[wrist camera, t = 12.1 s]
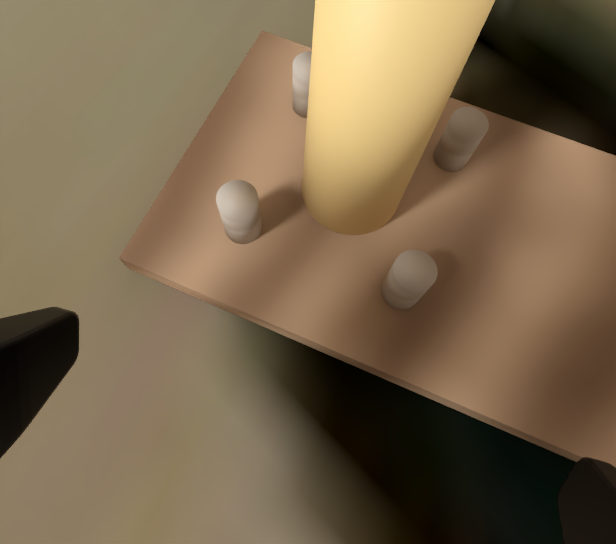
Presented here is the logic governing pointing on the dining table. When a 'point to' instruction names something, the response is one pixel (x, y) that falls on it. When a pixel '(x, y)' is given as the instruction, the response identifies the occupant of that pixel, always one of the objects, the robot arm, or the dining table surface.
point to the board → (465, 222)
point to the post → (378, 100)
